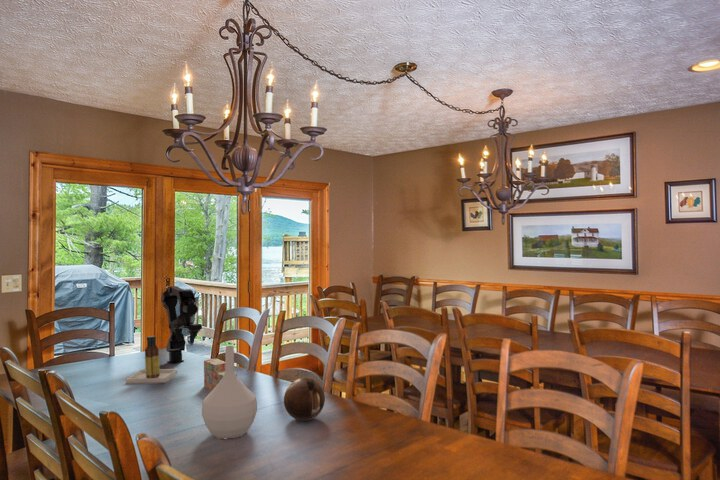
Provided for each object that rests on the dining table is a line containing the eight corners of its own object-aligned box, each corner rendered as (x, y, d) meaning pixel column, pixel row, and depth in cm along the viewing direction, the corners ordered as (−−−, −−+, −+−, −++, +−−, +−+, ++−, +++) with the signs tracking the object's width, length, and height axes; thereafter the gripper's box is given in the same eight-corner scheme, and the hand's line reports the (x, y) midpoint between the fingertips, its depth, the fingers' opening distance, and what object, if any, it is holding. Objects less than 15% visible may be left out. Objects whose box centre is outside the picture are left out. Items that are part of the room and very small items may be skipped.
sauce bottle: (160, 374, 245) (160, 334, 245) (159, 378, 239) (158, 336, 239) (145, 376, 243) (145, 335, 243) (144, 379, 237) (144, 337, 237)
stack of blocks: (237, 394, 213) (237, 366, 214) (223, 397, 210) (223, 368, 210) (216, 384, 230) (216, 357, 230) (203, 386, 226) (203, 359, 226)
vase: (235, 420, 182) (235, 339, 182) (268, 432, 170) (268, 345, 170) (190, 435, 168) (190, 347, 168) (223, 449, 156) (222, 354, 156)
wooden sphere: (280, 415, 187) (280, 375, 187) (318, 410, 192) (318, 371, 192) (288, 429, 173) (288, 386, 173) (329, 423, 178) (329, 381, 178)
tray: (141, 373, 249) (141, 369, 249) (177, 373, 250) (177, 368, 250) (125, 383, 231) (125, 379, 231) (165, 383, 232) (165, 378, 232)
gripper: (160, 314, 260) (160, 343, 260) (186, 316, 251) (186, 346, 251) (177, 311, 270) (177, 340, 270) (202, 313, 261) (202, 343, 261)
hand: (185, 342), depth 263 cm, fingers open, 9 cm apart
